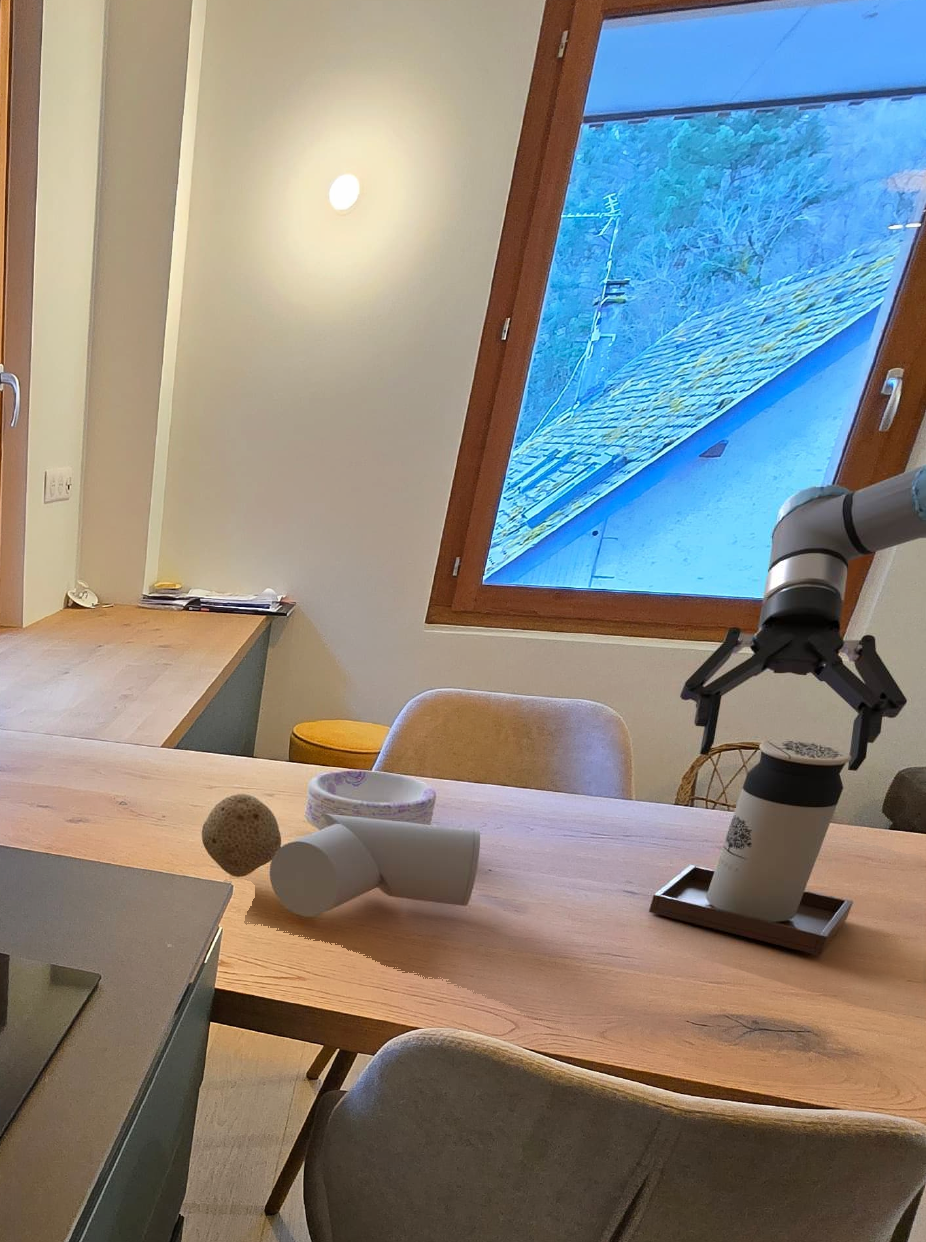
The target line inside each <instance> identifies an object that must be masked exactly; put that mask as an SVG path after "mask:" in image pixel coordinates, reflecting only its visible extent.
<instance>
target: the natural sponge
mask: <svg viewBox="0 0 926 1242" xmlns="http://www.w3.org/2000/svg"><path fill="white" fill-rule="evenodd" d="M201 841H202V845H203V847H204V849H205V851H206V852H207V854H208V855H209V856H210V858H211V859H212V860H213V861H214V862H215V863H216V864H217V865H218V866H219V867H220V868H221V869H222V870H223V871H224V872H226V873H227V874H229V875H230V876H232V877H235V878H240V877H245V876H248V875H250V874H251V873H253V872H255V871H256V870H257V869H259V868H260V867H262V866H264V865H266V864H268V863H271V861H272V859H273V856H274V855H275V853H276V852H277V851H278V849H280V848H281V847H282V835H281V832H280V829H279V824H278V821H277V819H276V816H275V814H274V813H273V812H272V810H271V808H269V807H268V806H267V805H266V804H265V803H263V802H262V801H261V800H259V799H258V798H257V797H255V796H252V795H250V794H245V793H244V794H243V793H237V794H233V795H230V796H227V797H225V798H224V799H222V800H221V801H220V802H218V803H217V804H216V805H215V806H214V807H213V808H212V810H211V811H210V812H209V814H208V816H207V818H206V820H205V822H204V823H203V825H202V829H201Z"/></svg>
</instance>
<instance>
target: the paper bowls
mask: <svg viewBox="0 0 926 1242" xmlns="http://www.w3.org/2000/svg"><path fill="white" fill-rule="evenodd" d="M436 800H437V793H436V791H435V789H434V788H433V787H432V786H431V785H429V784H428V783H427V782H424V781H422V780H420V779H417V778H414V777H410V776H408V775H403V774H398V773H393V772H386V771H381V770H380V771H379V770H366V769H344V770H334V771H328V772H324V773H320V774H318V775H317V774H316V775H315V776H313V777H312V778H311V779H310V781H309V782H308V790H307V793H306V801H305V809H304V818H305V819H306V822H307V823H309V825H311V826H312V827H314V828H316V829H317V830H318V831H319V830H321V829H324V828H326V827H329V826H328V824H327V822H326V820H325V817H324V814H332V815H341V816H351V817H360V818H369V819H379V820H388V821H398V822H407V823H416V824H426V825H432V821H433V816H434V810H435V805H436Z"/></svg>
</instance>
